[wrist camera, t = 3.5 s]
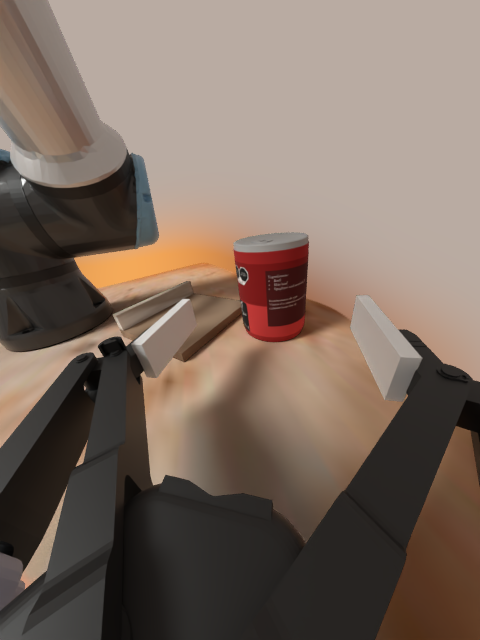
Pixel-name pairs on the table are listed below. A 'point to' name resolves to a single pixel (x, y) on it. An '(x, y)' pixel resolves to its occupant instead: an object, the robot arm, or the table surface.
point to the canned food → (272, 284)
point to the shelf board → (144, 314)
